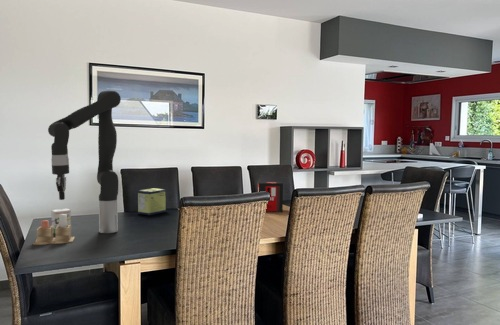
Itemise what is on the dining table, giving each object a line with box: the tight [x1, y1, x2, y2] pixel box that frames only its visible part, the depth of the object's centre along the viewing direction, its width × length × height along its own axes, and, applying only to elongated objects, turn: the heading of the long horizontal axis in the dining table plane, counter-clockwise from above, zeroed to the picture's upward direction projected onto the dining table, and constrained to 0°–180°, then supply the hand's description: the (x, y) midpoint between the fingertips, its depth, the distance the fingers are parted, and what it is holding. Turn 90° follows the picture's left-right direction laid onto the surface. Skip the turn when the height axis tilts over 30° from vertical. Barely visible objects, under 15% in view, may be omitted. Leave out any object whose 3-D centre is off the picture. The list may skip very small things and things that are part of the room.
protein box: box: [137, 187, 167, 216], centre depth 262 cm, size 10×16×16 cm
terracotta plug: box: [40, 219, 50, 229], centre depth 189 cm, size 3×3×8 cm
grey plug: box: [59, 214, 67, 228], centre depth 191 cm, size 3×3×8 cm
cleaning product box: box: [257, 181, 284, 213], centre depth 272 cm, size 16×9×20 cm, turn 94°
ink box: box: [51, 208, 72, 234], centre depth 209 cm, size 8×5×12 cm, turn 131°
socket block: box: [32, 224, 76, 246], centre depth 190 cm, size 17×9×7 cm, turn 107°
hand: (62, 199), depth 191 cm, fingers closed
